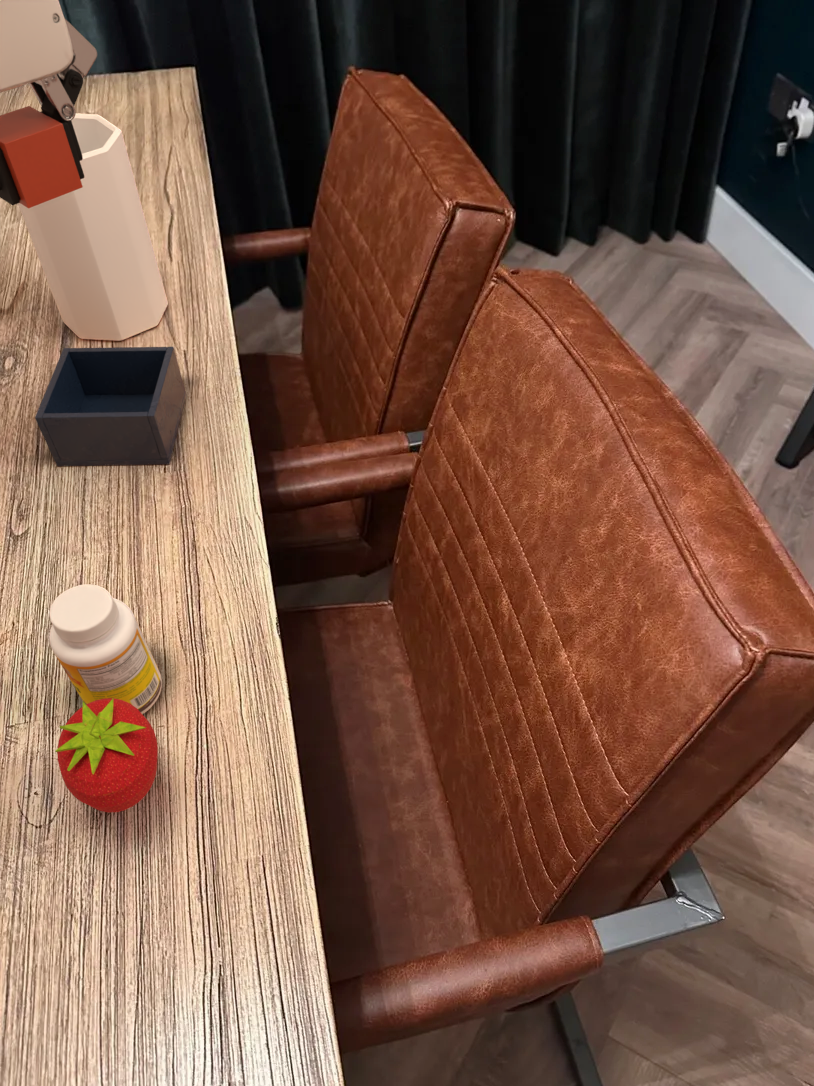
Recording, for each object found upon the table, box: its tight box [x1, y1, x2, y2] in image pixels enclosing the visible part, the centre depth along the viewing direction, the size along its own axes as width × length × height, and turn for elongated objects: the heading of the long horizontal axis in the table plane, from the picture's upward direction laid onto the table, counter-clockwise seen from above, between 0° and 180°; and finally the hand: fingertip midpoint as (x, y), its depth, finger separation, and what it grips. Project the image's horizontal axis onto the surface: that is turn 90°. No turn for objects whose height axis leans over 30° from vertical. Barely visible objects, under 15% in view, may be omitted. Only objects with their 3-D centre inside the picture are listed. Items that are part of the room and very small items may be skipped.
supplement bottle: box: [48, 583, 163, 715], centre depth 60 cm, size 6×6×10 cm
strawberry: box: [54, 698, 159, 813], centre depth 55 cm, size 6×8×10 cm
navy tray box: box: [34, 346, 187, 467], centre depth 80 cm, size 10×10×6 cm
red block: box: [0, 105, 83, 208], centre depth 63 cm, size 4×4×4 cm
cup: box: [17, 112, 169, 342], centre depth 88 cm, size 11×11×18 cm
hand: (38, 183), depth 64 cm, fingers closed on red block, 4 cm apart
